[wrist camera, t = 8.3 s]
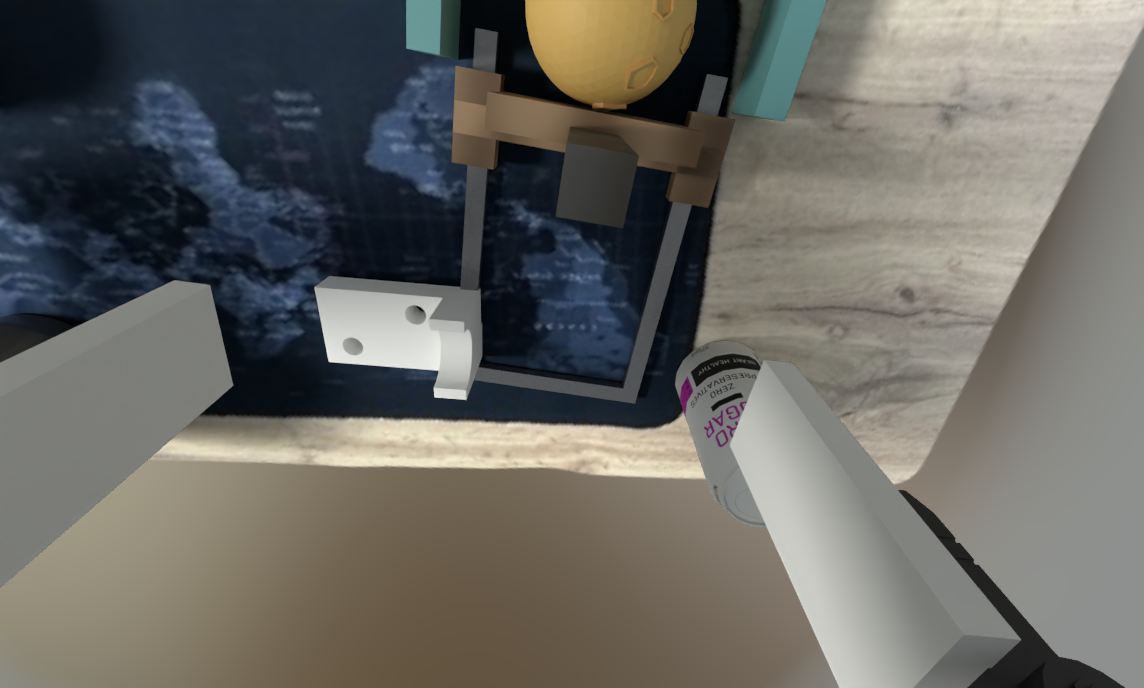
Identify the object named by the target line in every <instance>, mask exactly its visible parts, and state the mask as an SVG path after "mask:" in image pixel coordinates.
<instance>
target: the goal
mask: <svg viewBox="0 0 1144 688" xmlns="http://www.w3.org/2000/svg"><path fill="white" fill-rule="evenodd" d="M826 2H827V0H765V3H764V7H763V10H762V13H761V17H760V20H759V23H758V27H757V30H756V33H755V37H754V40H753V43H752V47H751V50H750V53H749V57H748V60H747V63H746V67H745V70H744V73H743V77H742V80H741V84H740V87H739V90H738V94H737V97H736V100H735V104H734V107H733V110H732V113H736V114H742V115H747V116H752V117H757V118H764V119H771V120H778V121H785V119H786V116H787V113H788V110H789V107H790V104H791V101H792V99H793V96H794V93H795V90H796V87H797V84H798V81H799V79H800V76H801V73H802V70H803V67H804V64H805V61H806V59H807V56H808V53H809V50H810V47H811V44H812V42H813V39H814V36H815V33H816V30H817V27H818V24H819V22H820V19H821V16H822V13H823V10H824V7H825V4H826ZM460 10H461V0H406V32H407V49H411V50H415V51H419V52H423V53H427V54H431V55H436V56H441V57H447V58H452V59H457V60H458V56H459V33H460Z"/></svg>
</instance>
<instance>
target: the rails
mask: <svg viewBox="0 0 1144 688" xmlns="http://www.w3.org/2000/svg"><path fill="white" fill-rule="evenodd" d="M499 39H500V34H499V33H498V32H494V31H489V30H484V29H479V28H475V41H474V59H473V69H475V70H480V71H485V72H490V73H496V74H497V65H498V52H499ZM727 80H728V78H726V77H720V76H715V75H710V74H704V75H703V79H702V83H701V87H700V91H699V94H698V98H697V102H696V106H695V110H694V112H698V113H704V114H709V115H714V116H717V115H718V112H719V108H720V105H721V101H722V98H723V94H724V91H725V87H726V84H727ZM488 180H489V169H487V168H481V167H476V166H470V165H467V182H466V200H465V217H464V235H463V252H462V270H461V288H460V289H463V290H475V291H478V290H479V289H480V282H481V269H482V256H483V243H484V231H485V218H486V205H487V192H488ZM691 206H692V205H689V204H684V203H678V202H672V201H670V204H669V208H668V212H667V216H666V220H665V223H664V227H663V231H662V235H661V239H660V242H659V246H658V250H657V254H656V258H655V261H654V265H653V269H652V273H651V277H650V280H649V284H648V288H647V292H646V296H645V299H644V303H643V307H642V311H641V315H640V318H639V322H638V326H637V330H636V333H635V337H634V341H633V345H632V349H631V352H630V356H629V360H628V364H627V368H626V371H625V375H624V379H623V383H620V382H613V381H606V380H599V379H593V378H586V377H579V376H572V375H566V374H559V373H552V372H546V371H539V370H532V369H525V368H519V367H512V366H505V365H498V364H492V363H485V362H480V364H479V367H478V369H477V372H476V375H475V378H474V380H477V381H484V382H491V383H498V384H505V385H512V386H519V387H525V388H532V389H539V390H546V391H553V392H560V393H567V394H573V395H580V396H587V397H594V398H601V399H608V400H615V401H621V402H628V403H635V402H636V398H637V395H638V391H639V388H640V384H641V381H642V377H643V374H644V370H645V367H646V363H647V360H648V356H649V353H650V349H651V346H652V342H653V339H654V335H655V332H656V328H657V325H658V321H659V318H660V314H661V311H662V307H663V304H664V300H665V297H666V293H667V290H668V286H669V283H670V279H671V276H672V272H673V269H674V265H675V262H676V258H677V255H678V252H679V248H680V245H681V241H682V238H683V234H684V231H685V227H686V224H687V220H688V217H689V213H690V210H691Z"/></svg>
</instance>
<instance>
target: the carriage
mask: <svg viewBox="0 0 1144 688" xmlns="http://www.w3.org/2000/svg"><path fill="white" fill-rule="evenodd" d="M504 78H505V75H501V74H496V73H490V72H485V71H480V70H475V69H470V68H465V67H459V66H456V69H455V93H454V118H453V142H452V162H453V163H459V164H464V165H470V166H476V167H481V168H487V169H492V170H494V169H495V168H496V167H497V160H498V148H499V140H500V141H505V142H511V143H516V144H522V145H527V146H533V147H538V148H543V149H549V150H554V151H560V152H565V156H564V163H563V170H562V176H561V183H560V190H559V196H558V203H557V210H556V216H555V217H560V218H566V219H572V220H577V221H583V222H589V223H595V224H601V225H606V226H612V227H618V228H623V226H624V222H625V217H626V213H627V208H628V204H629V199H630V195H631V190H632V186H633V181H634V177H635V172H636V168H637V166H642V167H648V168H653V169H659V170H664V171H670V172H672V173H671V177H670V181H669V185H668V189H667V193H666V198H667V199H668V200H669V201H672V202H678V203H684V204H689V205H695V206H701V207H706V208H708V207H709V204H710V201H711V197H712V194H713V191H714V188H715V184H716V181H717V178H718V174H719V171H720V168H721V165H722V161H723V158H724V155H725V151H726V148H727V145H728V141H729V138H730V135H731V132H732V128H733V125H734V122H735V119H730V118H724V117H719V116H714V115H709V114H704V113H698V112H693V111H687V115H686V119H685V123H684V126H683V125H678V124H673V123H668V122H662V121H657V120H652V119H647V118H641V117H636V116H631V115H626V114H620V113H615V112H610V111H594V110H593V109H592V108H589V107H583V106H578V105H573V104H568V103H562V102H557V101H552V100H547V99H541V98H536V97H531V96H526V95H520V94H515V93H510V92H503V90H504Z"/></svg>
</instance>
